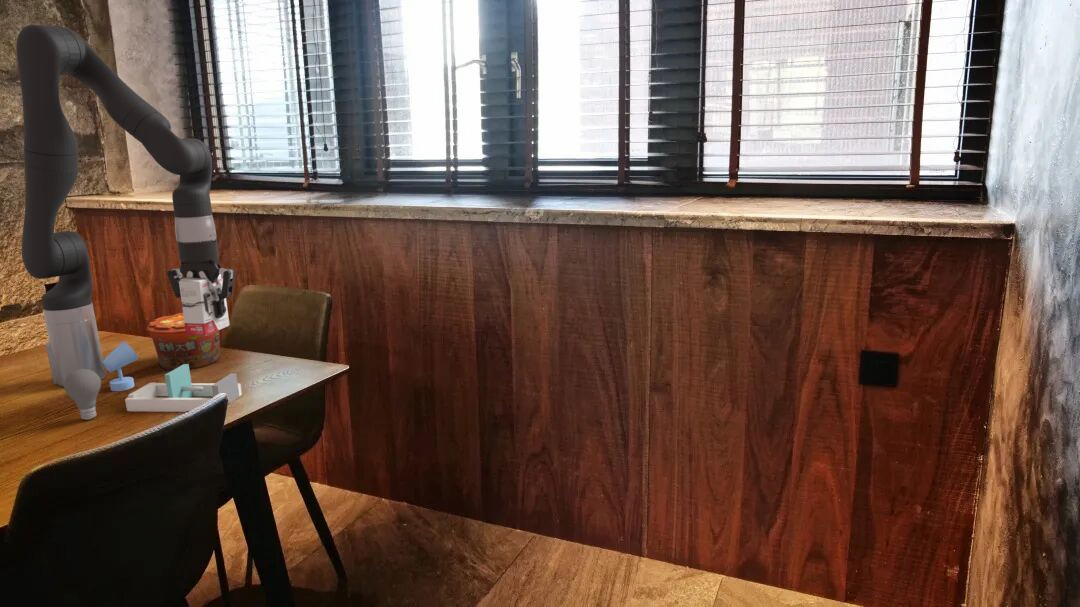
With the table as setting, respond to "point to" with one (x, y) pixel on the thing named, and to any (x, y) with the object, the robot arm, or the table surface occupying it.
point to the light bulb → (83, 390)
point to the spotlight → (117, 360)
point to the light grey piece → (148, 402)
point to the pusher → (180, 383)
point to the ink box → (200, 307)
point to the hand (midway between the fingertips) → (206, 316)
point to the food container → (182, 344)
